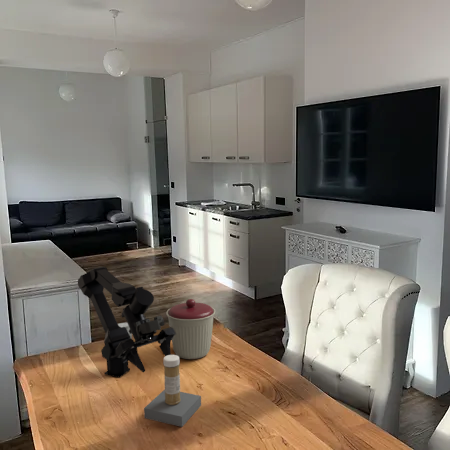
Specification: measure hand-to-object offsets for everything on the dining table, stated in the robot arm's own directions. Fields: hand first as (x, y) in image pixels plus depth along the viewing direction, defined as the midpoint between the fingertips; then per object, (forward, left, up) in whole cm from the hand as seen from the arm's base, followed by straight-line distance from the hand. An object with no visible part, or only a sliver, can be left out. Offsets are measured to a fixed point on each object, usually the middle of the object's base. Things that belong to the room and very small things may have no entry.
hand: (157, 367), depth 140 cm
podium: (+7, -3, -11) cm, 13 cm away
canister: (-6, +35, -11) cm, 37 cm away
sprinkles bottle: (+7, -3, -8) cm, 11 cm away
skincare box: (-29, +24, -11) cm, 39 cm away
